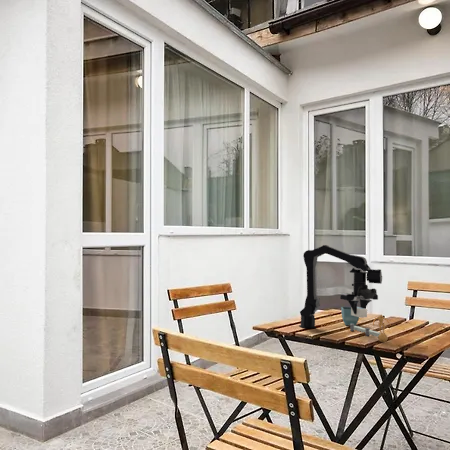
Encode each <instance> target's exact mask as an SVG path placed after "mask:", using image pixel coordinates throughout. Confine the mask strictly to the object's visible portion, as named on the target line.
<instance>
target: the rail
mask: <svg viewBox="0 0 450 450" xmlns="http://www.w3.org/2000/svg"><path fill="white" fill-rule="evenodd" d="M349 326H350V332H354V331H356V330H357V332H360V331H361V332H360V333H363V332H365V333H364V334H365V336H366V337H369V336H370V335H371V336H374V337H377V338H378V336H379V334H380V331H376V330H372V329H371V328H370V327H361V326H359V325H356V326H354V324H350V325H349Z"/></svg>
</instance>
